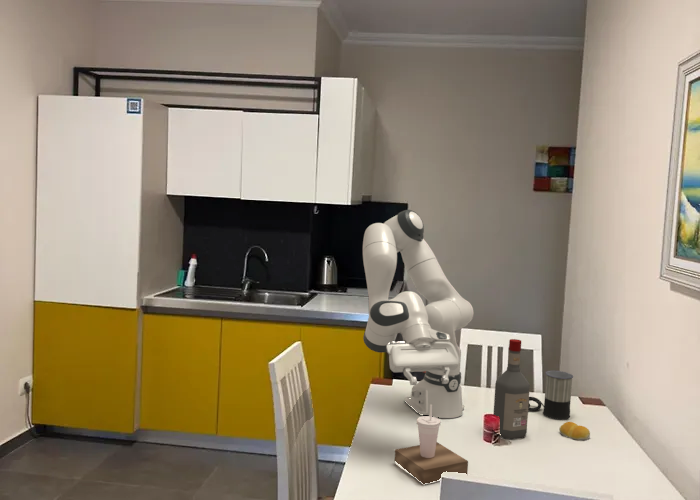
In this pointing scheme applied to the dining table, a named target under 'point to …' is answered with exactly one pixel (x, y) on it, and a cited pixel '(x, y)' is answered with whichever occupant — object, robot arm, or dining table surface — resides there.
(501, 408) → the liquor
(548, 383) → the milk frother
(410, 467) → the plinth
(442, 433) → the dining table surface
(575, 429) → the bread roll
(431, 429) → the smoothie
